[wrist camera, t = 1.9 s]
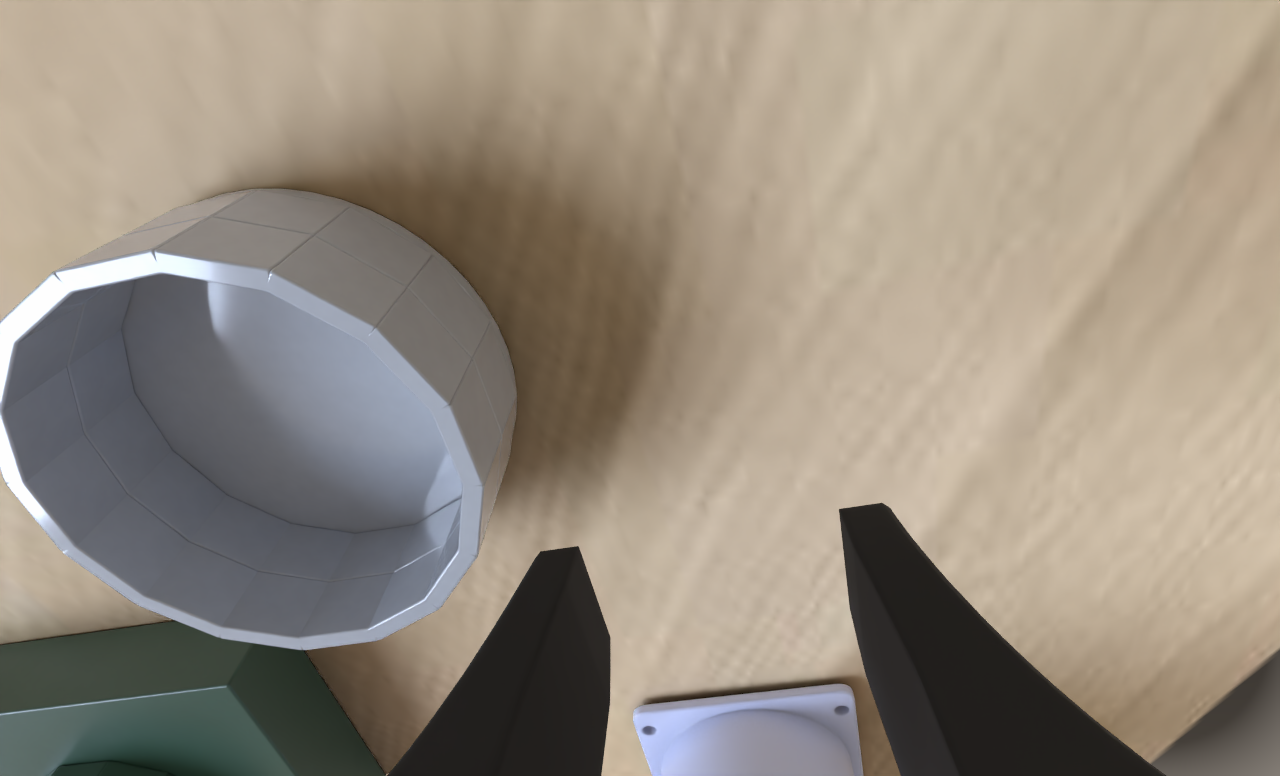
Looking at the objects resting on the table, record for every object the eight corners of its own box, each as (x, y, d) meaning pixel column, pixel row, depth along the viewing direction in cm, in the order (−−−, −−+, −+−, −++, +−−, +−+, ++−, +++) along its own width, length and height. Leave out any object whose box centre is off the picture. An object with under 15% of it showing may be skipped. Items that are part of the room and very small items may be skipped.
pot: (562, 504, 23) (539, 621, 19) (240, 552, 24) (156, 670, 20) (437, 144, 17) (367, 202, 13) (33, 236, 19) (-137, 312, 15)
